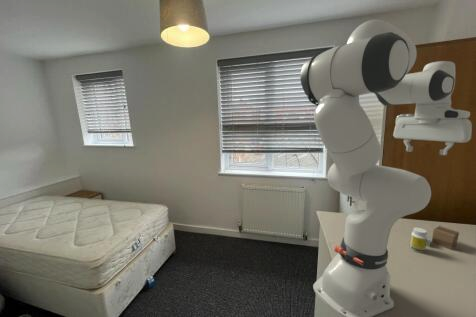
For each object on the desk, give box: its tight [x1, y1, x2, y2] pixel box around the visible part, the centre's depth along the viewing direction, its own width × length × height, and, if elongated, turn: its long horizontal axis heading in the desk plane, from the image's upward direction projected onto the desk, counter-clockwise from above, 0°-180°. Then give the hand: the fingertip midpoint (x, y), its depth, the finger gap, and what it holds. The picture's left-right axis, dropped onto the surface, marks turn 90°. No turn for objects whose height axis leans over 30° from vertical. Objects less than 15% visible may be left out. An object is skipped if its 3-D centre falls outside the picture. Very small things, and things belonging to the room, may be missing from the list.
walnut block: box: [431, 225, 460, 251], centre depth 86 cm, size 6×6×6 cm
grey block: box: [426, 235, 432, 248], centre depth 87 cm, size 4×4×3 cm
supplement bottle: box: [409, 227, 428, 254], centre depth 82 cm, size 5×5×8 cm
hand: (425, 153), depth 74 cm, fingers open, 8 cm apart
